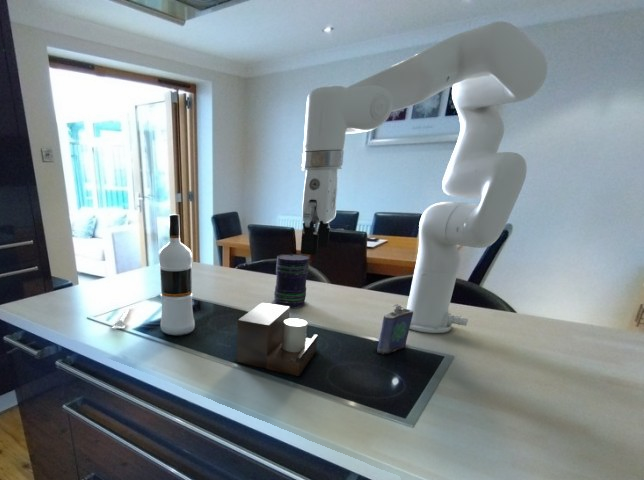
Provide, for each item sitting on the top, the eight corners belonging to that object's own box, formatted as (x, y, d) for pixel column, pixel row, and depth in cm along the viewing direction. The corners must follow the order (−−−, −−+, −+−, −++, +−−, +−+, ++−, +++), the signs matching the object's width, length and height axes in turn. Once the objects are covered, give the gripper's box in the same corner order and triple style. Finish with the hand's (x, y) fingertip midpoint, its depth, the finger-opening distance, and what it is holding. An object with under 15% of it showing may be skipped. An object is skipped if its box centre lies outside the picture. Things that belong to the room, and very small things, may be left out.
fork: (135, 309, 122) (134, 303, 121) (121, 333, 103) (120, 326, 103) (125, 309, 122) (124, 303, 121) (109, 333, 103) (108, 326, 103)
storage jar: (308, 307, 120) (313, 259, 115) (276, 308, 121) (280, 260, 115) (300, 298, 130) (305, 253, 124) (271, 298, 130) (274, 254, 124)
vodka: (154, 333, 103) (147, 215, 91) (171, 322, 111) (167, 212, 99) (184, 339, 99) (181, 216, 88) (200, 327, 107) (199, 213, 95)
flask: (384, 355, 89) (392, 310, 84) (372, 350, 91) (380, 307, 87) (408, 346, 93) (417, 303, 89) (396, 342, 95) (405, 300, 91)
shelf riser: (316, 351, 91) (320, 311, 87) (298, 376, 80) (303, 331, 76) (259, 340, 98) (261, 302, 94) (236, 361, 87) (237, 319, 83)
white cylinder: (307, 345, 87) (310, 320, 84) (301, 354, 83) (303, 328, 80) (285, 341, 89) (287, 317, 87) (278, 349, 85) (280, 323, 83)
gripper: (332, 160, 67) (323, 259, 74) (350, 161, 81) (341, 244, 88) (290, 162, 71) (284, 256, 77) (314, 162, 84) (307, 242, 91)
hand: (314, 250), depth 82 cm, fingers open, 9 cm apart
